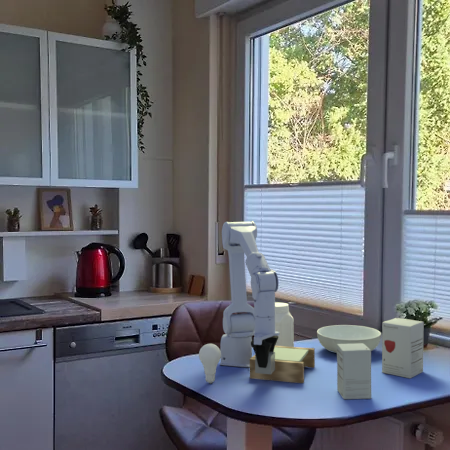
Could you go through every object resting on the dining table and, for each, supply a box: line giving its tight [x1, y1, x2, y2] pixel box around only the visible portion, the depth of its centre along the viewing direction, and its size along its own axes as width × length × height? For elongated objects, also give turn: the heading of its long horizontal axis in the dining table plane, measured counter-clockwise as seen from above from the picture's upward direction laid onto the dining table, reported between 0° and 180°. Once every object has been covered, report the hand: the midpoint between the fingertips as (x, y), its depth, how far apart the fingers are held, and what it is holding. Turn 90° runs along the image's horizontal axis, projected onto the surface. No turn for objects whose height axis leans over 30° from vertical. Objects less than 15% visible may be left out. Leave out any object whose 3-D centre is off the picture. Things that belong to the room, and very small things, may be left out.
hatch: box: [274, 347, 308, 362], centre depth 172 cm, size 12×13×1 cm
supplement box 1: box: [336, 343, 372, 400], centre depth 152 cm, size 7×7×13 cm
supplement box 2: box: [381, 317, 425, 379], centre depth 171 cm, size 9×9×15 cm
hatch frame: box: [249, 346, 316, 384], centre depth 172 cm, size 15×17×6 cm
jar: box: [275, 301, 295, 347], centre depth 201 cm, size 12×10×15 cm
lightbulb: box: [198, 343, 221, 384], centre depth 163 cm, size 6×6×11 cm
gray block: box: [254, 352, 275, 374], centre depth 161 cm, size 4×4×5 cm
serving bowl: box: [316, 324, 382, 354], centre depth 195 cm, size 21×21×7 cm
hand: (265, 364), depth 161 cm, fingers closed on gray block, 4 cm apart
